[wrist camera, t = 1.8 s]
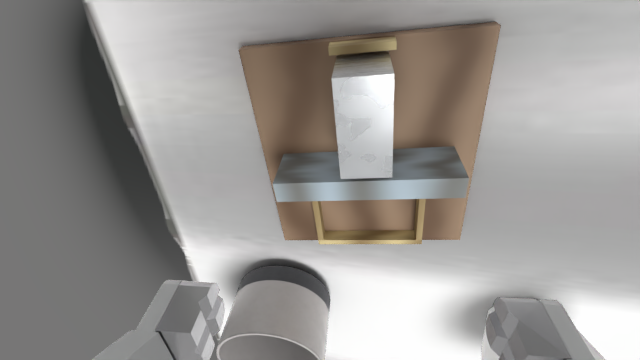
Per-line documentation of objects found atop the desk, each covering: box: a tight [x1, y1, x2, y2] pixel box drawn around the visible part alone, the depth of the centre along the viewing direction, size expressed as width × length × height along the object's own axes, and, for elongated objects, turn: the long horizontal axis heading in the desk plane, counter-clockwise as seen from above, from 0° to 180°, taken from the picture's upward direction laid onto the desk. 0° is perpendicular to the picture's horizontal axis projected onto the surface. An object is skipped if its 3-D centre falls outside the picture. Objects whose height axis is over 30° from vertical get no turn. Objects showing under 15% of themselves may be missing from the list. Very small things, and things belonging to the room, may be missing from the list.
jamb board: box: [239, 22, 501, 244], centre depth 30 cm, size 20×22×6 cm
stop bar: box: [331, 50, 394, 179], centre depth 25 cm, size 4×8×6 cm, turn 6°
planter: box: [216, 266, 330, 360], centre depth 43 cm, size 13×13×10 cm
